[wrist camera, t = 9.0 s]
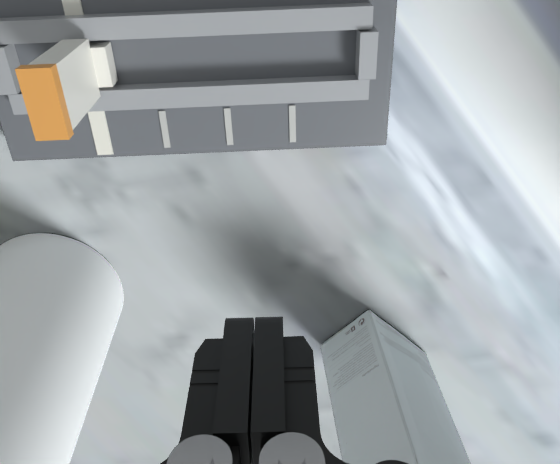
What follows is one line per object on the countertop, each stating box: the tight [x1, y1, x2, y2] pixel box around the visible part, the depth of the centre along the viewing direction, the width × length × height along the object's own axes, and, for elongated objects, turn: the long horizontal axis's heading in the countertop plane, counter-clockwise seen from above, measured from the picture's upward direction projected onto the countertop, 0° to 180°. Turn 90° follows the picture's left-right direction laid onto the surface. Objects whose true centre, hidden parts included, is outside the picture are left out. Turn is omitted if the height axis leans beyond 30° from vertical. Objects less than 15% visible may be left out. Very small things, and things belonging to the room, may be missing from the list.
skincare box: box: [321, 310, 471, 464], centre depth 41 cm, size 8×6×15 cm
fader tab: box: [15, 39, 118, 141], centre depth 28 cm, size 3×3×8 cm
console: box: [0, 0, 397, 161], centre depth 32 cm, size 24×12×3 cm, turn 92°
